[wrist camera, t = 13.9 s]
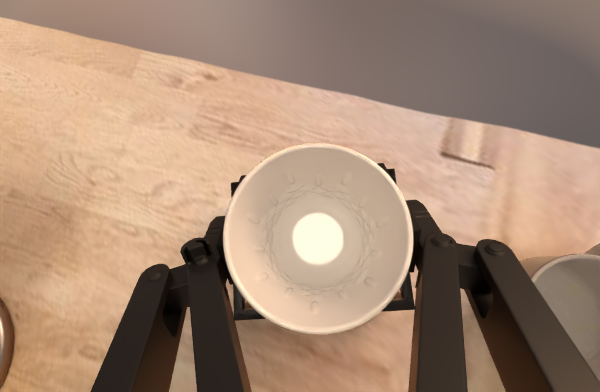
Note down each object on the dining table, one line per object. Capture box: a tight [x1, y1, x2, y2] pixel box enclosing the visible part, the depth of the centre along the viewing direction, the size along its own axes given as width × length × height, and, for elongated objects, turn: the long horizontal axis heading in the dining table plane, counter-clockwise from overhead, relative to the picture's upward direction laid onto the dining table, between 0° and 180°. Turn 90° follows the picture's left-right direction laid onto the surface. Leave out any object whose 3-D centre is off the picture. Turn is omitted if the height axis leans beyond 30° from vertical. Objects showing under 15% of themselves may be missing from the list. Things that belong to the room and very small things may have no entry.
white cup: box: [223, 143, 413, 335], centre depth 16 cm, size 8×8×10 cm
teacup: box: [519, 243, 600, 381], centre depth 24 cm, size 14×11×8 cm
